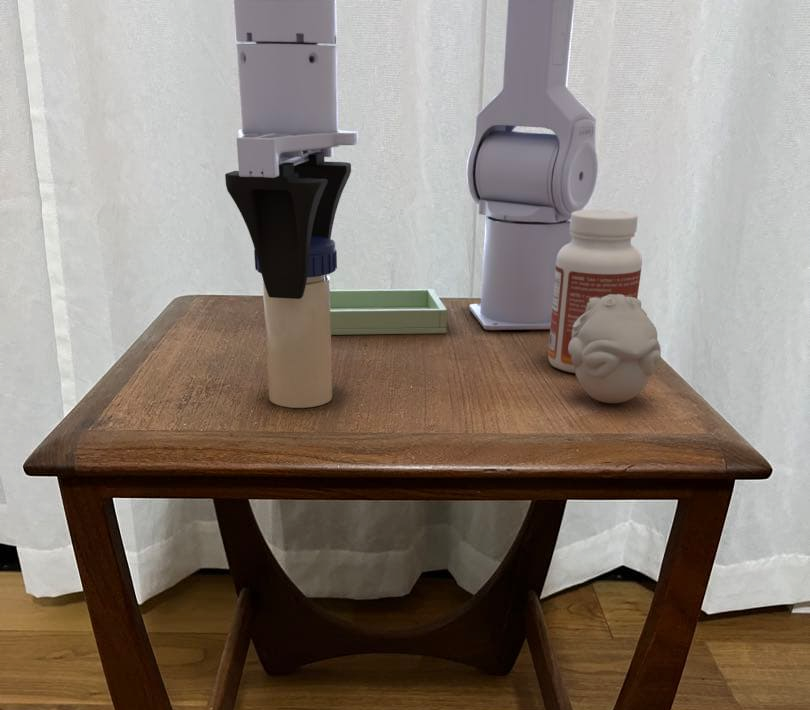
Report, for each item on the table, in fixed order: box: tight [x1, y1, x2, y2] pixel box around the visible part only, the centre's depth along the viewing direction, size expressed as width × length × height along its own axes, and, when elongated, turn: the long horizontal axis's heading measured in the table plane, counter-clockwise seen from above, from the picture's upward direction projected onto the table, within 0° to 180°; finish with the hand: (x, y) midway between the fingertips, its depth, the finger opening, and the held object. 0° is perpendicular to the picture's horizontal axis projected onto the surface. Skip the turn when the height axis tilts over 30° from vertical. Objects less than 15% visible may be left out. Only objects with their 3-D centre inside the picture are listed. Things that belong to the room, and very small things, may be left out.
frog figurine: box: [568, 294, 662, 404], centre depth 59 cm, size 6×7×7 cm
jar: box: [261, 274, 333, 409], centre depth 57 cm, size 4×4×9 cm
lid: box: [253, 236, 338, 277], centre depth 55 cm, size 5×5×2 cm
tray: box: [330, 288, 448, 336], centre depth 77 cm, size 13×8×2 cm, turn 97°
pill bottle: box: [547, 209, 643, 374], centre depth 65 cm, size 6×6×11 cm
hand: (296, 287), depth 56 cm, fingers closed on lid, 5 cm apart
